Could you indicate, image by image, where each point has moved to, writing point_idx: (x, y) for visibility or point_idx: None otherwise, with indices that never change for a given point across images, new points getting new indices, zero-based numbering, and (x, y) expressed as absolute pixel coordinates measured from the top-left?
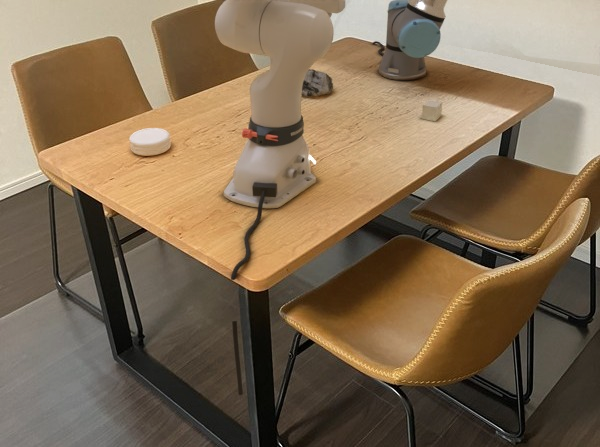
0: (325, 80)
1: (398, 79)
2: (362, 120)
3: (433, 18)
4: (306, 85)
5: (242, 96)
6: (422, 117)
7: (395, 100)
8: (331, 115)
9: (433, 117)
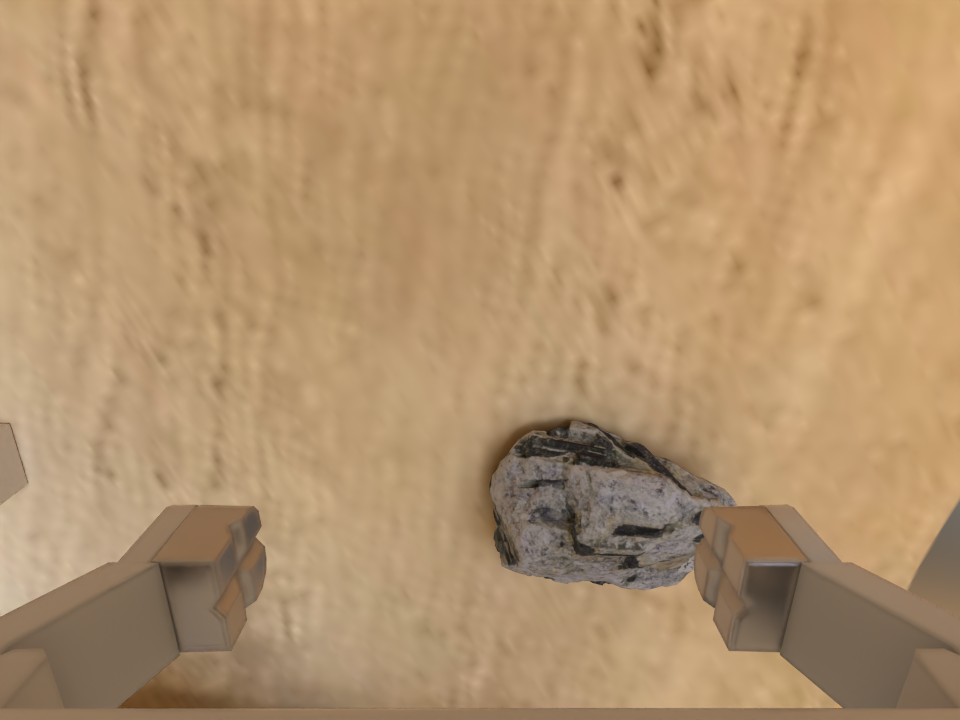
0: (510, 522)
1: None
2: (208, 296)
3: None
4: (582, 452)
5: (881, 303)
6: (1, 426)
7: None
8: (363, 285)
9: None
